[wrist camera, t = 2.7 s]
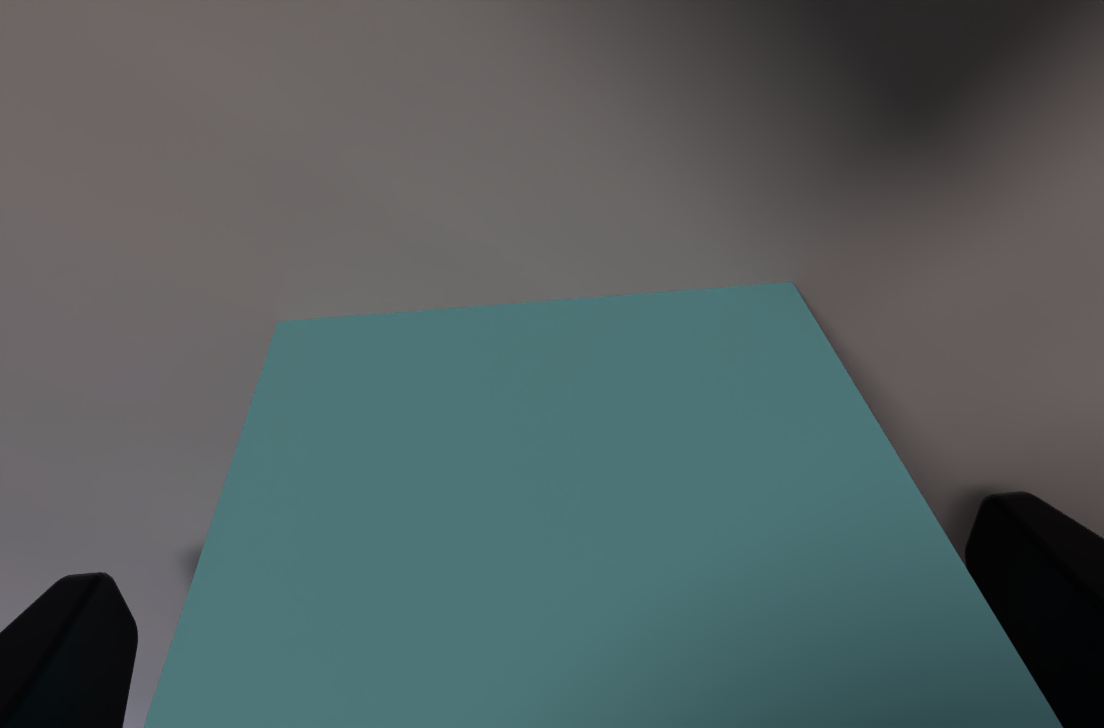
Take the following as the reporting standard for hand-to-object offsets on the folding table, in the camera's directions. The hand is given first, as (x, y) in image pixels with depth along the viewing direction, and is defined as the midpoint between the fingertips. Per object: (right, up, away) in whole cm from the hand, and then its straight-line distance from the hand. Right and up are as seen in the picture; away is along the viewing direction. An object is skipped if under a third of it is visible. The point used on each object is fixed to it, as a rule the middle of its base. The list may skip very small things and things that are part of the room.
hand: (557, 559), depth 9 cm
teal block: (0, +1, +1) cm, 1 cm away
